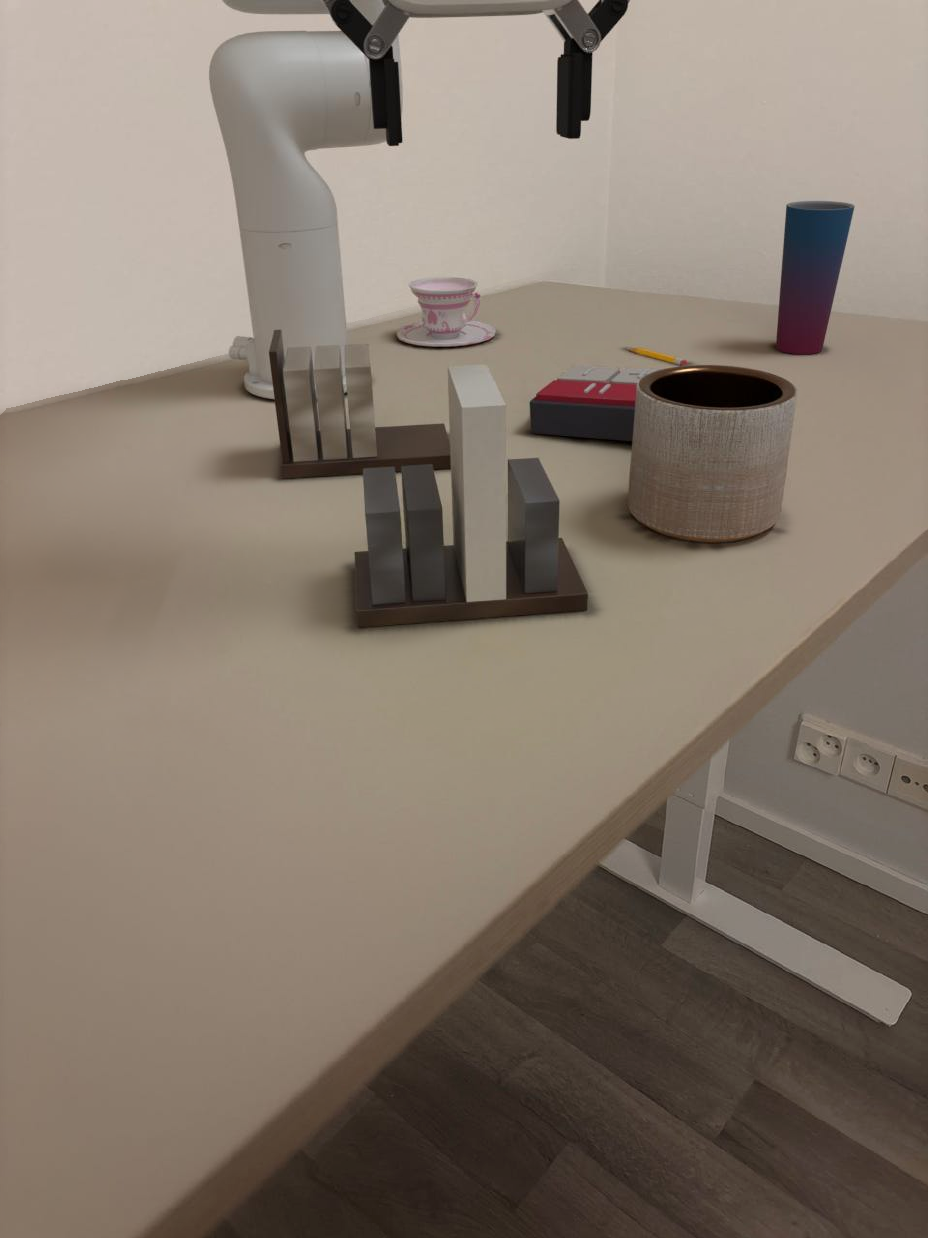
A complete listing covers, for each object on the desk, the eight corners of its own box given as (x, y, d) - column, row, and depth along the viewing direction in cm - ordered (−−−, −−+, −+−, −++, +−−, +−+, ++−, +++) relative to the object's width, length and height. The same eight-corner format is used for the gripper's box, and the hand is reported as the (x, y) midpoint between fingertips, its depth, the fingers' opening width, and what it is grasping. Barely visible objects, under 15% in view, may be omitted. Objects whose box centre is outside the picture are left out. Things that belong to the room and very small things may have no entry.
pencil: (681, 367, 104) (682, 361, 104) (624, 351, 110) (624, 345, 110) (686, 366, 105) (687, 359, 104) (629, 350, 111) (629, 344, 110)
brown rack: (282, 478, 79) (266, 353, 74) (287, 445, 86) (273, 328, 80) (453, 468, 80) (449, 344, 75) (444, 435, 87) (440, 320, 82)
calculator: (569, 360, 93) (727, 367, 87) (570, 404, 95) (724, 414, 89) (527, 392, 85) (698, 403, 79) (529, 440, 87) (695, 453, 81)
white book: (466, 602, 58) (461, 406, 52) (453, 544, 65) (447, 366, 59) (506, 599, 58) (506, 404, 52) (488, 542, 65) (486, 363, 59)
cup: (837, 344, 110) (861, 202, 102) (821, 359, 105) (845, 210, 97) (777, 338, 113) (796, 199, 106) (759, 351, 108) (778, 207, 101)
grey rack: (357, 628, 58) (347, 517, 54) (355, 567, 65) (346, 466, 61) (587, 610, 59) (592, 501, 55) (561, 552, 66) (564, 452, 62)
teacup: (377, 341, 116) (373, 288, 113) (432, 320, 125) (430, 270, 122) (462, 353, 110) (460, 297, 107) (513, 330, 119) (513, 278, 116)
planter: (596, 511, 72) (602, 383, 67) (694, 474, 77) (706, 355, 72) (710, 562, 64) (727, 422, 59) (810, 517, 70) (833, 387, 65)
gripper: (635, -250, 49) (618, 131, 57) (288, -249, 47) (323, 143, 55) (682, -301, 42) (655, 138, 51) (281, -302, 40) (323, 151, 49)
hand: (481, 140), depth 53 cm, fingers open, 9 cm apart
